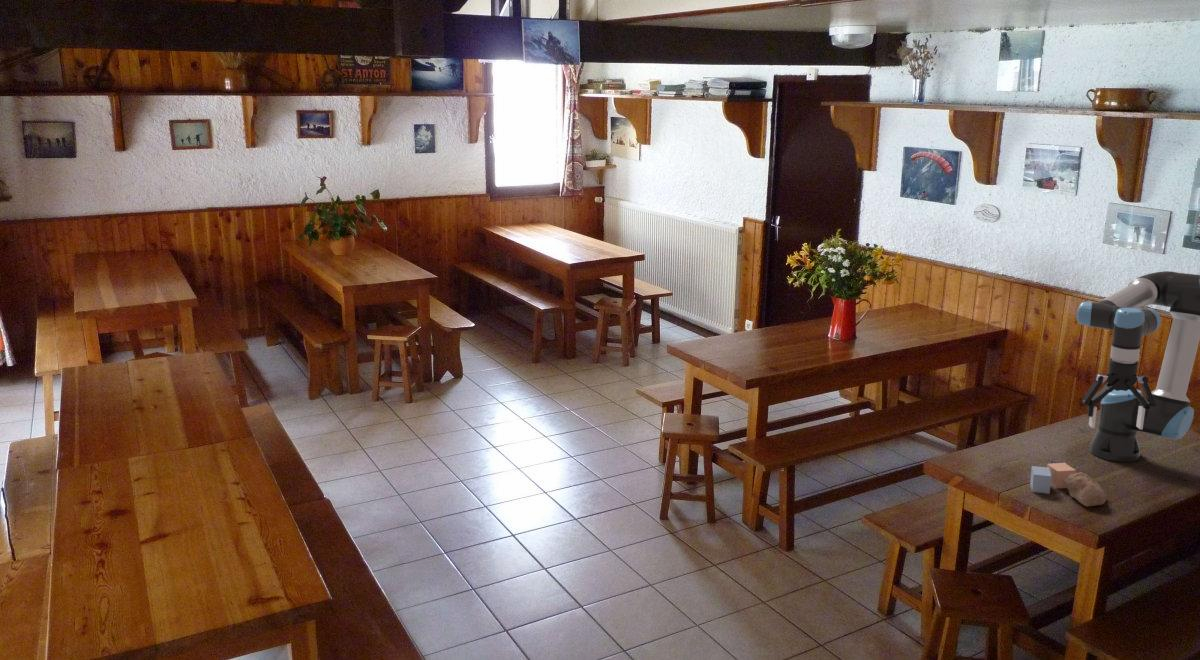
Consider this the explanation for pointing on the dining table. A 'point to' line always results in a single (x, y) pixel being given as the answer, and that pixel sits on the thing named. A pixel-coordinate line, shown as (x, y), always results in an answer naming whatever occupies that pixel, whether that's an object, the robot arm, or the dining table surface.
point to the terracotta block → (1059, 474)
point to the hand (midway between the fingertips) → (1115, 427)
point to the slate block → (1040, 479)
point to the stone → (1085, 489)
